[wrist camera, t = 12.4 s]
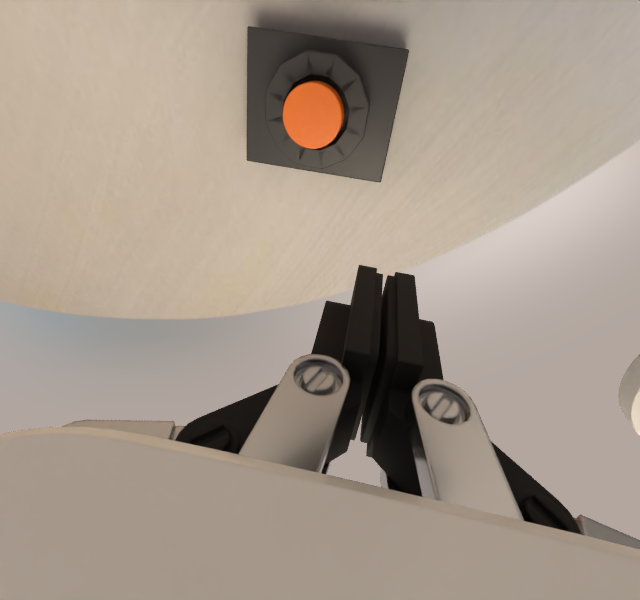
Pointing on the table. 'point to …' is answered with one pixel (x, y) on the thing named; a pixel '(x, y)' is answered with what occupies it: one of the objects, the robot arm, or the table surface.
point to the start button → (313, 114)
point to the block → (345, 77)
